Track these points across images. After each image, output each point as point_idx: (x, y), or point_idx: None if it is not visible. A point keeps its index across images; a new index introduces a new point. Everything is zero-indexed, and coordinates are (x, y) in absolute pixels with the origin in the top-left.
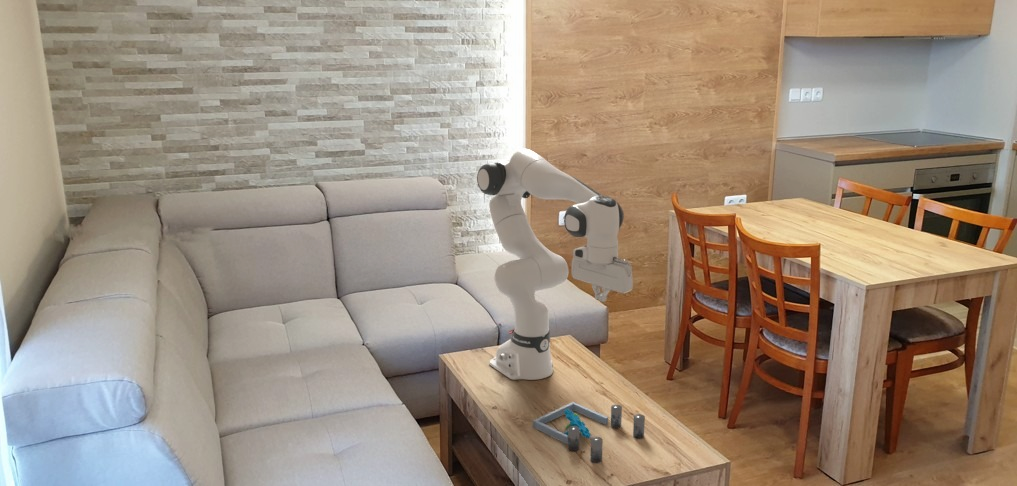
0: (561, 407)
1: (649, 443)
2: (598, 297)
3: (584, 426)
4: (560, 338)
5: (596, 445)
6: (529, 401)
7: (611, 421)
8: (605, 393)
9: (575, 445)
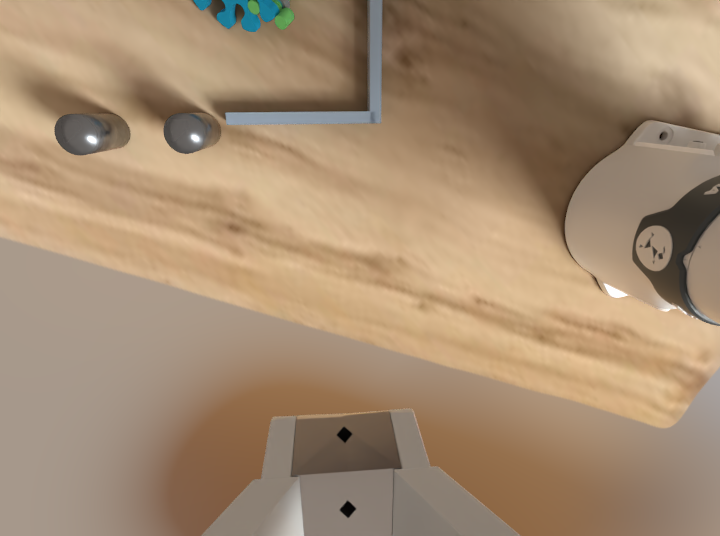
0: (380, 58)
1: None
2: (354, 437)
3: (225, 3)
4: (673, 416)
5: None
6: (509, 46)
7: (202, 113)
8: (372, 267)
9: None
